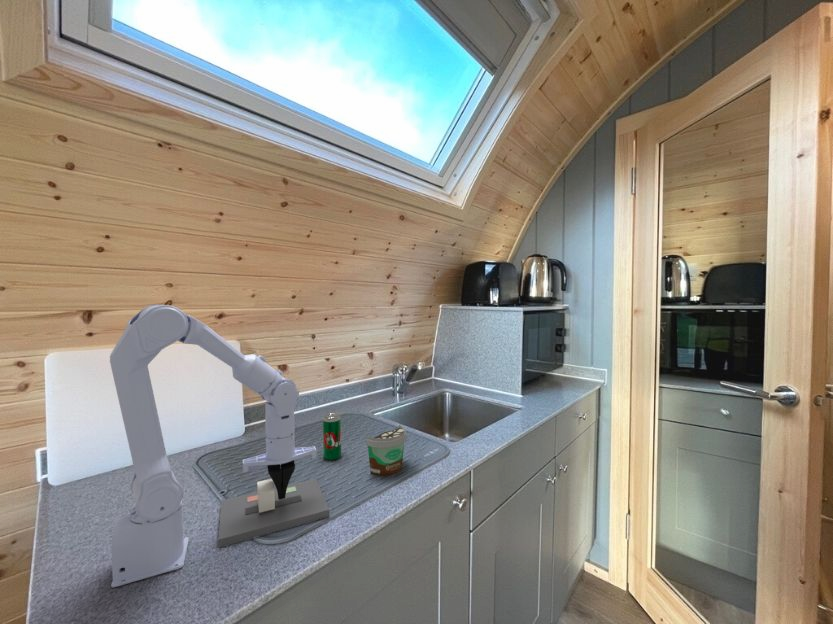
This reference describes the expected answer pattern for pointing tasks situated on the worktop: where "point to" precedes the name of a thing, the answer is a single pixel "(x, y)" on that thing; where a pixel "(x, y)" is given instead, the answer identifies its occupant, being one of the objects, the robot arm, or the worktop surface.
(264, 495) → the breaker knob
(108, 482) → the worktop surface
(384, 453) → the food container
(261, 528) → the switch panel
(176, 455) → the worktop surface
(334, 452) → the soda can
